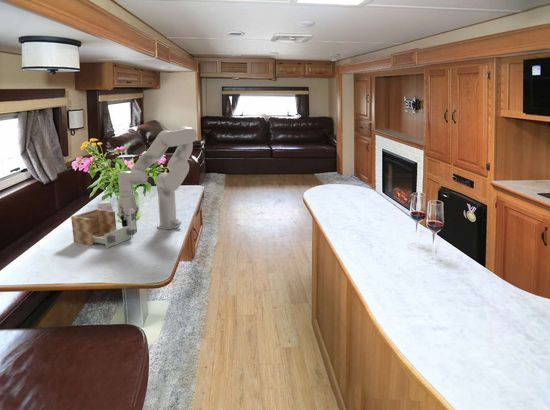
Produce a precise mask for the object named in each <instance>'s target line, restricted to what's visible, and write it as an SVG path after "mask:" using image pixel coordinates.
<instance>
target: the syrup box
mask: <svg viewBox="0 0 550 410" xmlns="http://www.w3.org/2000/svg"><path fill="white" fill-rule="evenodd" d="M121 214H122V213H121ZM123 214H124V213H123ZM123 217H124V215H123ZM126 220H127V226H131V228H132V229H134V234H135V233H137V232H138V227H137V216H136V215H135V211H134V209H133V208H130V209H128V214H127V216H126ZM121 226H122V225H121ZM122 228H124V227H123V226H122Z"/></svg>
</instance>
